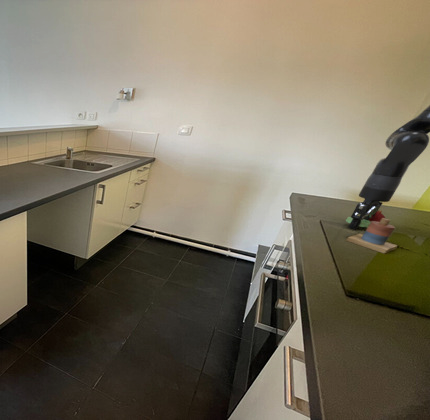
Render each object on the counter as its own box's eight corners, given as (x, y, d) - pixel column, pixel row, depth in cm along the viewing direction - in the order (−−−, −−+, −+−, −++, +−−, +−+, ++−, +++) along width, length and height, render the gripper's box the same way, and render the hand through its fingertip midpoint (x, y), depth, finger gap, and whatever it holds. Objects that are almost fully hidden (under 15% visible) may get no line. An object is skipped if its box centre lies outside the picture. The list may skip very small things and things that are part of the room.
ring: (350, 219, 100) (352, 216, 100) (374, 226, 95) (376, 222, 94) (342, 221, 98) (344, 217, 97) (366, 228, 92) (369, 224, 91)
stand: (357, 237, 91) (372, 212, 87) (395, 249, 83) (413, 223, 80) (346, 240, 88) (360, 215, 84) (384, 253, 80) (402, 226, 76)
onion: (366, 230, 98) (377, 211, 95) (353, 224, 103) (363, 206, 100) (384, 232, 96) (395, 213, 93) (370, 226, 102) (381, 208, 99)
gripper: (387, 191, 84) (362, 234, 91) (403, 188, 90) (378, 228, 96) (356, 185, 91) (334, 225, 97) (373, 183, 96) (351, 221, 103)
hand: (356, 227), depth 97 cm, fingers closed on ring, 6 cm apart
